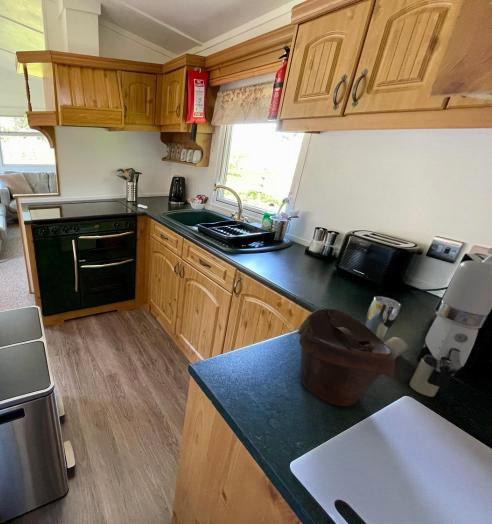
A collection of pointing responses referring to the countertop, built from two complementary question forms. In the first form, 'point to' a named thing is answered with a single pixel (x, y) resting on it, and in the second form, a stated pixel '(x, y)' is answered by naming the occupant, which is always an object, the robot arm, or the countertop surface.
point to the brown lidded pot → (341, 356)
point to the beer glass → (382, 315)
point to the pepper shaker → (425, 376)
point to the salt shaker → (396, 346)
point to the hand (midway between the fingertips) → (429, 373)
